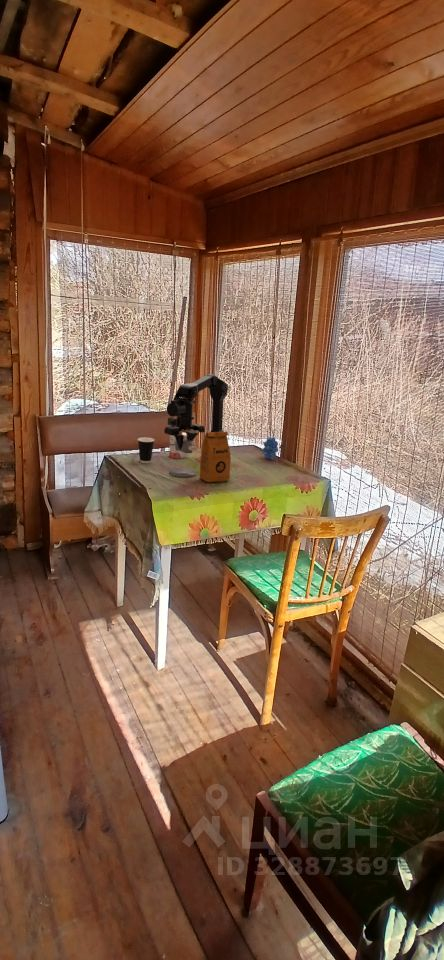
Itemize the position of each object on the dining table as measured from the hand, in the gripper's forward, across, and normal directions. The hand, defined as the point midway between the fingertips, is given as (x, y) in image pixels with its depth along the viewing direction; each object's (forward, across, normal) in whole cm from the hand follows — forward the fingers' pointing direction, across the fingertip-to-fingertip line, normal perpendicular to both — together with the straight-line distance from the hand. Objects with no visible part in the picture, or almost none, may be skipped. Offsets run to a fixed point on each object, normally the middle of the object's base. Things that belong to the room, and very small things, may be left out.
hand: (183, 448), depth 248 cm
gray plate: (+12, 0, 0) cm, 12 cm away
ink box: (+12, -16, -24) cm, 31 cm away
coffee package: (+12, -6, +15) cm, 20 cm away
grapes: (+11, -56, +2) cm, 57 cm away
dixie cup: (+12, +4, -24) cm, 27 cm away
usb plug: (+1, 0, +1) cm, 2 cm away
